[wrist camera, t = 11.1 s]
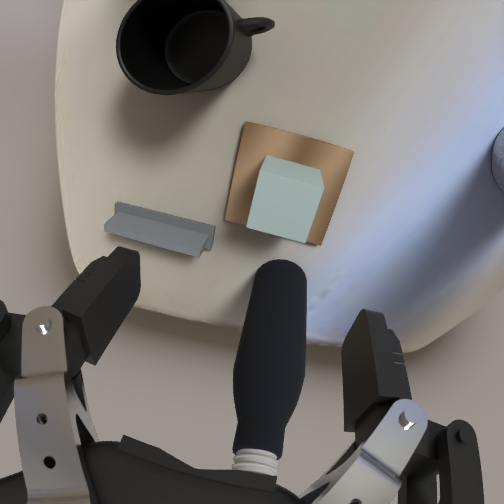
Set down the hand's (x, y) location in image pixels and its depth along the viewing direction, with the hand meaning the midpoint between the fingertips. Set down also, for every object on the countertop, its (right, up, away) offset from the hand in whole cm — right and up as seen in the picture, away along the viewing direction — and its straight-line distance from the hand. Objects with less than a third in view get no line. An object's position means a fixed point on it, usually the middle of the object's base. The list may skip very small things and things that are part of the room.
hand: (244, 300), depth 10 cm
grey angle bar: (-10, +5, +26) cm, 28 cm away
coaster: (+4, +9, +21) cm, 23 cm away
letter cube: (+4, +8, +20) cm, 22 cm away
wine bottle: (+4, -2, +28) cm, 28 cm away
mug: (-3, +22, +14) cm, 26 cm away
